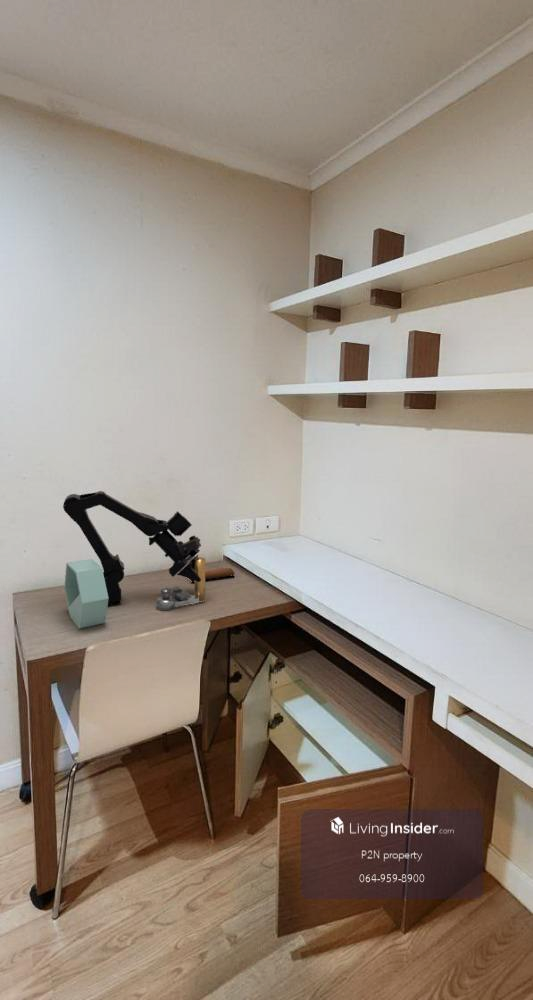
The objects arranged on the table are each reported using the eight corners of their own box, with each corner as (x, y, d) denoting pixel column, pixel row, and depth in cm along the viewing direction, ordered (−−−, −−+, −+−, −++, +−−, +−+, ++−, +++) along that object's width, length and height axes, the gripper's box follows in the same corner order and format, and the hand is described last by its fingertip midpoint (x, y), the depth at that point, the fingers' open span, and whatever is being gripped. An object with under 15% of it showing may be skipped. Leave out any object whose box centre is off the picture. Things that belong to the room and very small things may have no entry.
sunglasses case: (226, 571, 207) (229, 559, 203) (232, 584, 203) (236, 573, 199) (183, 577, 199) (186, 565, 195) (189, 591, 194) (192, 579, 190)
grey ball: (162, 600, 166) (162, 592, 165) (159, 597, 169) (159, 588, 168) (172, 599, 167) (172, 590, 167) (169, 595, 170) (169, 587, 170)
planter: (73, 634, 157) (60, 570, 163) (98, 628, 162) (85, 567, 168) (85, 622, 144) (71, 553, 150) (112, 616, 149) (98, 550, 155)
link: (160, 611, 165) (159, 567, 162) (154, 605, 170) (153, 562, 167) (207, 603, 173) (208, 560, 170) (200, 597, 178) (201, 555, 175)
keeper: (180, 607, 169) (180, 595, 168) (169, 600, 175) (169, 588, 174) (191, 604, 172) (191, 593, 171) (180, 598, 177) (180, 586, 177)
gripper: (177, 536, 162) (211, 571, 163) (193, 524, 181) (224, 556, 181) (154, 559, 165) (188, 593, 165) (172, 545, 183) (202, 576, 183)
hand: (202, 578), depth 174 cm, fingers open, 5 cm apart
